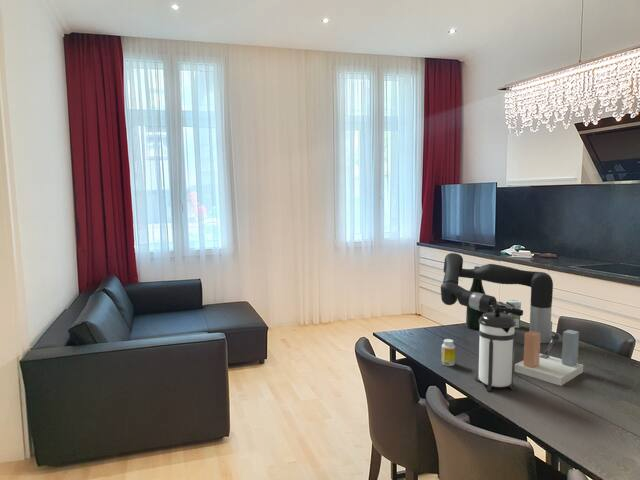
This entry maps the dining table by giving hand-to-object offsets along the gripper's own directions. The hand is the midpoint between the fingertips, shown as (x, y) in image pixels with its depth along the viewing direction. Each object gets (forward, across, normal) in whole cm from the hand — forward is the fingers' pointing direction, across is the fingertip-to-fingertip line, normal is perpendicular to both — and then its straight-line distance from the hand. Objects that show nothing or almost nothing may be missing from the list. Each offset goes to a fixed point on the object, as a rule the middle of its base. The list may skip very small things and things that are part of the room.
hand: (522, 313), depth 183 cm
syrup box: (-26, -54, -26) cm, 66 cm away
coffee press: (+1, +22, -23) cm, 32 cm away
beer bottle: (-39, -40, -27) cm, 62 cm away
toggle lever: (+6, -12, -19) cm, 23 cm away
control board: (+12, -4, -22) cm, 26 cm away
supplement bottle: (-21, +17, -25) cm, 37 cm away
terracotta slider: (+6, +1, -19) cm, 20 cm away
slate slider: (+16, -11, -19) cm, 27 cm away
